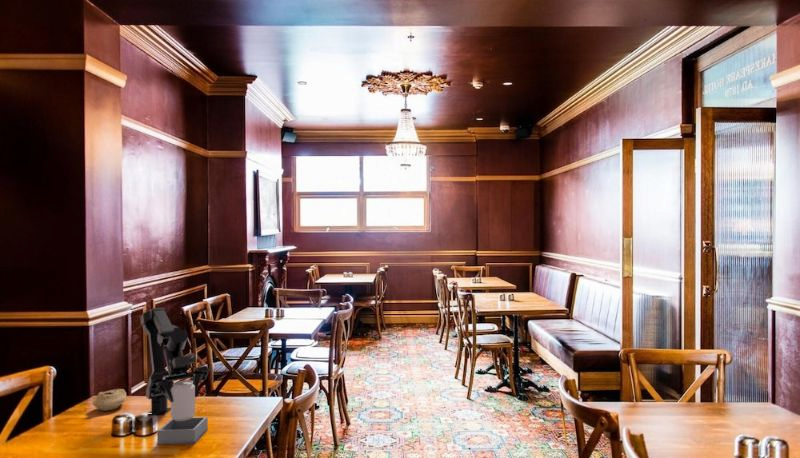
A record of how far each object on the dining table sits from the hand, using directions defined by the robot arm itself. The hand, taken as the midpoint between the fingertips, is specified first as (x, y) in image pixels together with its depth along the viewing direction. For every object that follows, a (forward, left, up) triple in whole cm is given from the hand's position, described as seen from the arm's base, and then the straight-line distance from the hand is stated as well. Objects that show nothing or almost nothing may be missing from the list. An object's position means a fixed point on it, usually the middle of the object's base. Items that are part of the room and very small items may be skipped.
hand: (184, 399), depth 173 cm
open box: (-1, -1, -13) cm, 13 cm away
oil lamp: (-34, -42, -13) cm, 55 cm away
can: (-1, -1, -7) cm, 7 cm away
